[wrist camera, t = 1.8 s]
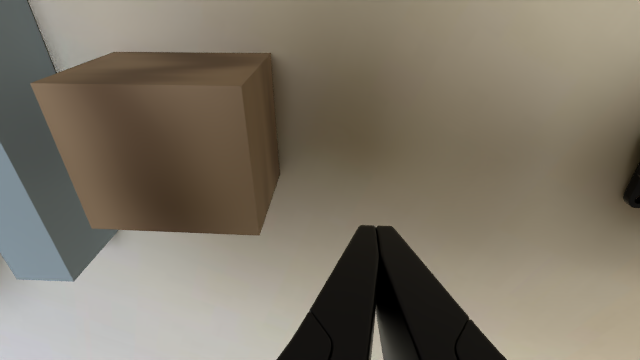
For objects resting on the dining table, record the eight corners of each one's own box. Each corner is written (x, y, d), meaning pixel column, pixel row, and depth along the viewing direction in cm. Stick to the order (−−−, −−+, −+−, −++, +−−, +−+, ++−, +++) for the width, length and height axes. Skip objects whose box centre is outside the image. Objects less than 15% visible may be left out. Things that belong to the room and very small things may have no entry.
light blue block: (6, -53, 14) (-105, -58, 11) (118, 230, 21) (73, 281, 18) (-65, -50, 14) (-196, -54, 11) (70, 228, 21) (17, 279, 18)
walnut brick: (271, 52, 16) (241, 86, 11) (280, 173, 19) (259, 235, 14) (115, 51, 16) (30, 83, 12) (149, 169, 19) (91, 228, 15)
